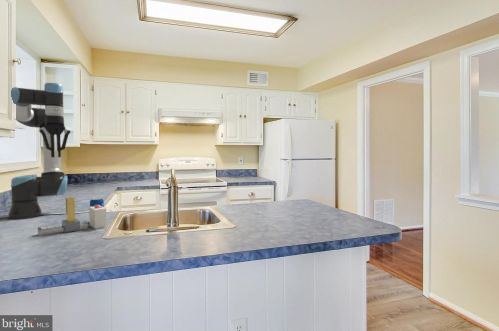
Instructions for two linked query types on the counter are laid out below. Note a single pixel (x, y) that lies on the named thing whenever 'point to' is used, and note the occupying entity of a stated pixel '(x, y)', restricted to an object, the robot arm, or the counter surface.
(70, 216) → the carriage
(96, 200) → the beverage can
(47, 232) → the rail
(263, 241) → the counter surface
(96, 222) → the end cabinet
